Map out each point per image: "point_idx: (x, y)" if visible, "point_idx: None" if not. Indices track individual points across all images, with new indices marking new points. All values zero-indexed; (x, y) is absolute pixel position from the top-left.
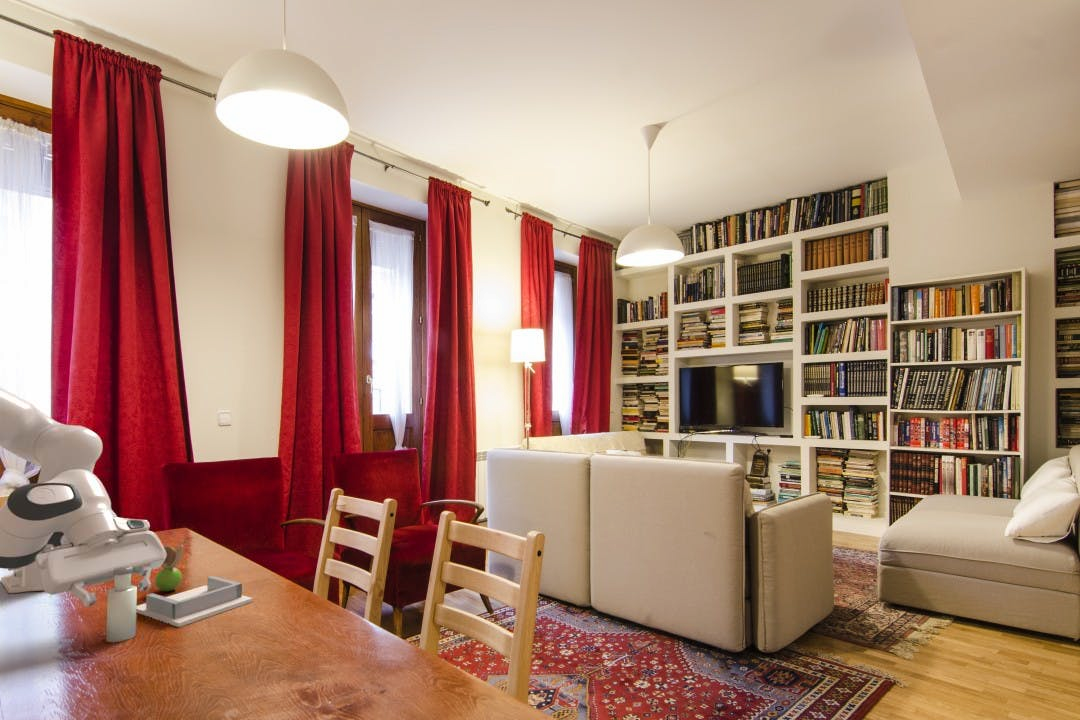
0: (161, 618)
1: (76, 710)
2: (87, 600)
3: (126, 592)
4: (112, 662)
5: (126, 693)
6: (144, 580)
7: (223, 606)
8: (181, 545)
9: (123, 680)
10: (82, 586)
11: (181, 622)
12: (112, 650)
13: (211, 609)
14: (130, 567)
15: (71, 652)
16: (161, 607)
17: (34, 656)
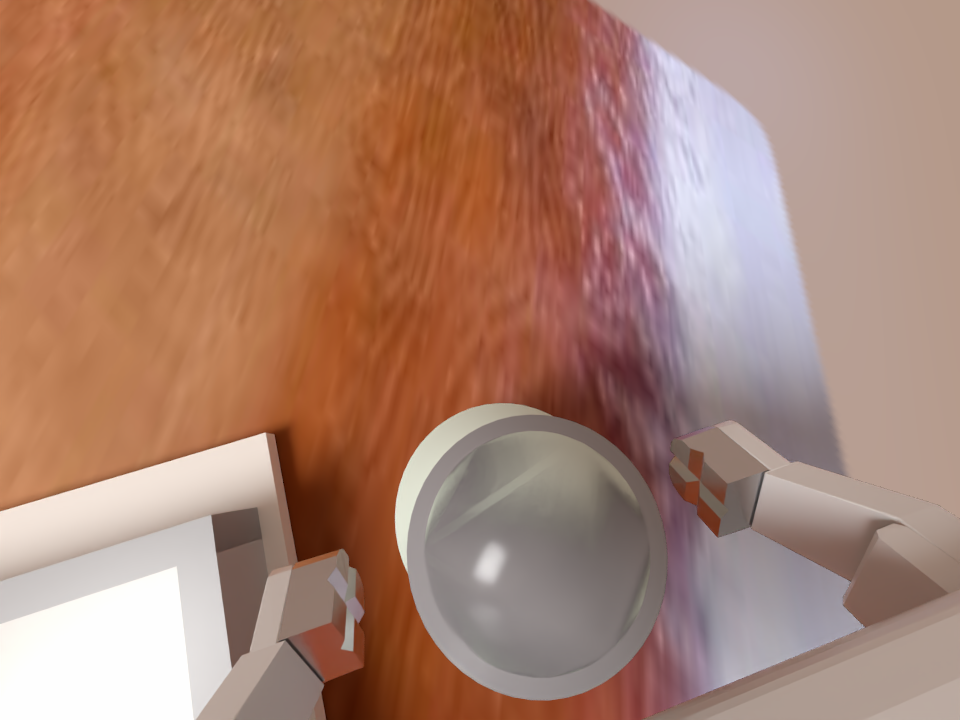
0: None
1: (625, 28)
2: (738, 424)
3: (487, 406)
4: (537, 246)
5: (525, 33)
6: (302, 615)
7: (9, 531)
8: None
9: (523, 104)
10: (881, 532)
11: (253, 437)
12: (528, 357)
13: (74, 527)
14: (437, 520)
15: (656, 450)
16: None
17: None
